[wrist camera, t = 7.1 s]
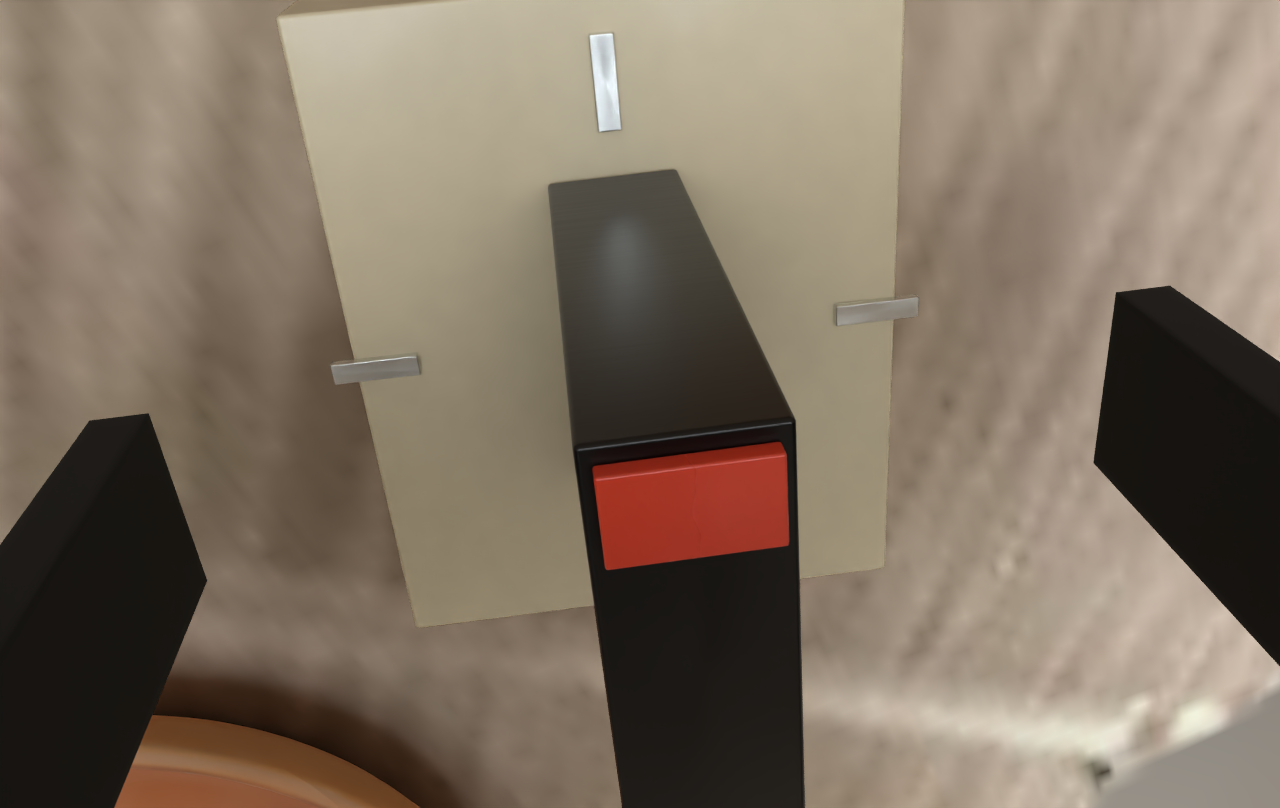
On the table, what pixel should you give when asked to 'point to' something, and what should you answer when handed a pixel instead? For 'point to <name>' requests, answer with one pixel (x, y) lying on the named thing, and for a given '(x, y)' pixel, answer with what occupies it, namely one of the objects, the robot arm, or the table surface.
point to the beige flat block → (524, 255)
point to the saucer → (243, 771)
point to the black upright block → (681, 501)
